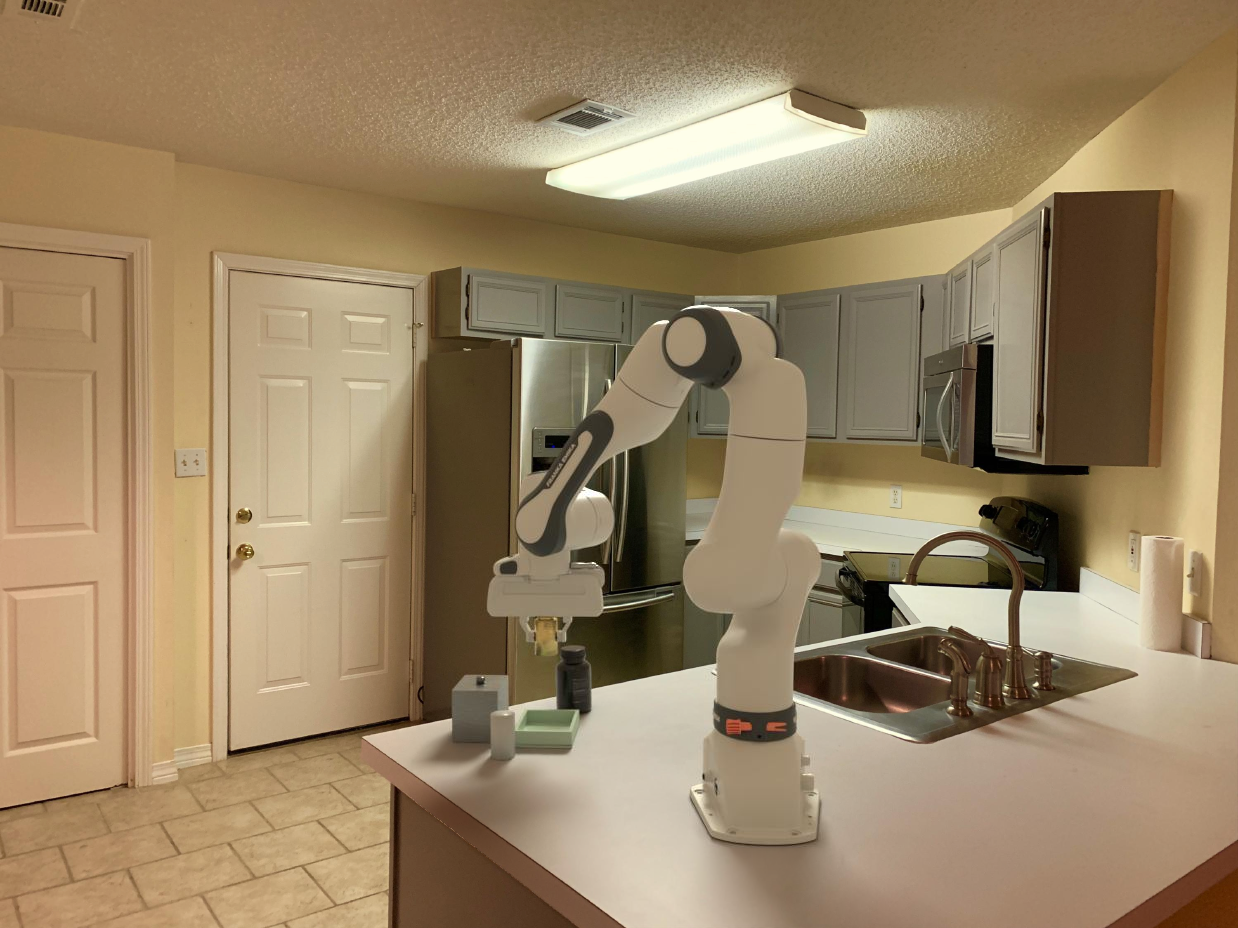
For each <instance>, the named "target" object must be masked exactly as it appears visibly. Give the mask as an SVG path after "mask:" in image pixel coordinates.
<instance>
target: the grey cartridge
mask: <svg viewBox="0 0 1238 928" xmlns="http://www.w3.org/2000/svg"><path fill="white" fill-rule="evenodd" d="M515 727H516V713H515V712H514V711H513V710H500V711H495V712H492V713H491V743H490V758H491V759H493V760H495V761H506V760H507V761H508V760H511V759H513V758H515V756H516V747H515Z"/></svg>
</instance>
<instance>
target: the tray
mask: <svg viewBox="0 0 1238 928" xmlns="http://www.w3.org/2000/svg"><path fill="white" fill-rule="evenodd" d="M579 727H580V714H579V710H557V708H555V709H550V708H549V709H548V708H546V709H544V708H542V709H541V708H539V709H538V708H535V709H534V708H524V709H523V712H522V713H521V715H520V717H519V719H518V721H517V723H516V724H515V748H534V749H536V748H537V749H542V748H543V749H545V748H546V749H573V746H574V744H575V743H574V742H575V739H576V736H577V733H578V731H579Z"/></svg>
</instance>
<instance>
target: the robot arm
mask: <svg viewBox="0 0 1238 928" xmlns="http://www.w3.org/2000/svg"><path fill="white" fill-rule="evenodd" d="M784 357H785V342H784V338H783V336H782V334H781V333H780V331H779V329H778V328H777V327H776V326H775V325H774V324H773V323H772V322H770V321H769V320H767V319H766V318H763V317H762V316H759V315H756V314H749V313H745V312H742V311H740V310H738V309H735V308H729V307H721V306H720V307H719V306H717V307H716V306H714V307H713V306H709V305H703V304H702V305H693V306H689V307H686V308H684V309H681V310H680V311H678V312H676V313H675V314H674V315H673V316H671V318H669V320H661V321H657V322H655V323H653V324H651V325H650V326H649V327H648V328H647V329H646V330H645V332H644V333H643V334H642V336H641V337H640V338H639V339H638V341H637V342H636V344H635V345H634V347H633V348H632V350H631V352H630V353H629V354H628V356H627V358H626V359H625V361H624V363H623V365H622V366H621V368H620V370H619V372H618V374H617V376H616V378H615V380H614V381H613V383H612V384H611V386H610V387H609V388H608V390H607V392H606V394H605V395H604V396H603V398H602V399H601V400H600V401H599V402H598V404H597V405H596V406H595V407H594V408H593V409H592V411H590V412H589V413H588V414H587V415H586V416H585V417H584V418H583V419H582V420H581V421H580V423H579V424H578V425H577V426H576V428H575V429H574V430H573V432H572V433H571V435H570V436H569V438H568V440H566V443H565V444H564V446H563V447H562V449H561V450H560V452H559V453H558V455H557V456H556V458H555V459H554V461H553V462H552V463H551V465H550V467H549V469H548V470H547V469H546V470H540V471H534V472H531V473H527V475H526V476H524V477H523V478H522V482H521V485H520V490H519V497H518V498H519V500H518V501H519V502H518V508H517V510H516V512H515V516H514V517H515V518H514V531H515V534H516V537H517V539H518V541H519V553H515V554H512V555H509V556H507V557H503V558H501V559H498V560H497V561H496V562H495V563H494V564H493V567H492V569H493V574H494V575H495V576H494V577H493V578H492V579H491V581H490V582H489V586H488V592H487V599H486V602H487V605H486V611H487V612H488V614H489V615H490V617H499V618H500V617H504V618H505V617H510V618H511V617H514V618H515V617H518V619H519V625H520V626H521V628H522V629H523V631H524V633H525V642H526V643H535V629H531V627H530V625H529V624H528V622H529V621H530V618H531V617H532V618H533V617H534V618H535V617H536V618H538V617H554V618H557V617H562V622H563V623H564V624H565V625H564V626H563V628H562V629H558V631H557V642H558V643H565V642H566V641H567V630H569V627H570V625H571V623H572V622H573V618H575V617H579V618H580V617H583V618H585V617H587V618H588V617H589V618H590V617H593V618H595V617H597V618H598V617H599V616H600V615H601V614H602V613H603V612H604V596H603V589H602V588H603V586H604V585H605V581H606V579H605V575H606V573H605V570H604V568H603V567H601V565H598V564H597V563H596V562H586V563H585V562H571V551H573V550H581V549H584V548H589V547H590V548H591V547H595V546H598V545H600V544H604V543H606V542H607V541H608V540H609V539H610V537H611V536H612V534H613V532H614V529H615V524H616V513H615V509H614V507H613V504H612V502H611V501H610V499H609V498H608V497H607V496H606V495H605V494H604V493H602V492H601V491H600V492H599V491H595V490H592V489H589V488H588V487H586V485H587V484H588V483H589V480H590V479H591V478H592V476H593V474H594V473H596V470H597V469H598V468H599V467H600V466H602V464H604V463H605V462H606V461H608V460H609V459H611V458H613V457H614V456H616V455H619V454H621V453H623V452H625V451H628V450H630V449H633V448H637V447H640V446H643V445H646V444H648V443H651V442H653V441H655V440H657V439H658V438H659V437H660V436H661V435H662V434H663V433H664V432H665V431H666V430H667V429H668V428H669V426H670V425H671V424H672V423H673V421H674V420H675V418H676V415H677V414H678V412H679V411H680V408H681V406H682V405H683V403H684V400H686V397H687V395H688V393H689V392H690V390H691V388H692V387H693V386H694V384H695V383H696V384H698V385H700V386H702V387H704V388H706V389H709V390H711V391H717V390H719V389H721V390H723V392H725V394H726V396H727V399H728V402H729V418H728V419H729V420H728V429H727V430H728V431H727V440H726V450H725V461H724V467H723V468H724V471H723V478H722V484H721V489H720V493H719V497H718V499H717V503H716V506H715V509H714V510H713V511H714V512H713V513H712V516H711V519H710V521H709V523H708V526H707V528H706V530H705V531H704V534H703V536H702V537H701V539H700V540H699V541H698V543H697V544H696V545H695V546H694V547H693V548H692V549H691V550H690V552H689V553H688V554H687V556H686V558H685V559H684V560H685V561H684V564H683V567H682V580H683V581H682V582H683V586H684V588H685V591H686V594H687V596H688V598H690V600H691V601H692V603H693V604H694V605H695V606H696V607H698V608H699V609H701V610H703V611H705V612H708V613H714V614H715V613H718V614H733V615H732V618H731V620H730V621H731V622H730V624H729V626H728V629H727V630H726V632H725V633H724V635H723V636H722V637H721V638H720V641H719V643H718V645H717V649H716V697H715V698H714V700H713V707H712V716H713V719H712V720H713V721H712V723H713V729H712V730H711V731H710V732H709V733H708V734H707V735H705V737H703V742H702V745H703V746H702V747H703V748H702V749H703V750H702V774H701V775H702V777H701V778H702V779H701V780H702V783H698V784H696V785H693V786H691V787H690V789H689V797H690V798H691V801H692V802H693V803H692V804H693V805H694V807H695V809H696V810H697V812H698V814H699V816H700V818H701V820H702V822H703V823H704V826H705V827H706V829H707V831H708V833H709V835H710V836H711V837H712V838H714V839H718V840H721V841H726V842H731V843H737V844H746V845H747V844H749V845H767V846H768V845H770V846H771V845H773V846H775V845H776V846H777V845H780V846H781V845H794V844H802V843H807V842H811V841H814V840H816V839H817V835H818V827H819V826H818V824H819V814H820V813H819V812H820V806H821V805H820V803H821V795H820V794H821V793H820V790H819V789H817V788H815V784H814V783H815V774H814V773H809V772H805V771H806V768H805V767H806V766H807V767H809V766H810V763H811V760H810V759H811V758H810V755H806V741H805V739H804V738H802V736H801V735H799V734H798V732H797V728H798V726H797V719H798V712H797V704H796V702H795V701H794V663H795V661H794V660H795V659H794V658H795V649H796V642H797V637H798V631H799V628H800V624H801V620H802V617H803V613H804V610H805V607H806V606H805V605H806V602H807V600H808V596H809V594H810V593H811V590H812V589H813V587H814V586H815V584H817V583H816V582H817V581H818V580H819V578H820V575H821V572H822V556H821V552H820V551H819V548H818V546H817V545H816V543H815V542H814V541H813V539H812V538H810V537H809V536H808V535H807V534H805V533H803V532H801V531H798V530H797V531H796V530H793V529H788V528H783V527H782V526H783V523H784V522H785V519H786V517H787V514H788V513H789V511H790V509H791V508H792V506H793V505H794V504H795V503H796V501H797V500H798V498H799V497H800V495H801V492H802V483H803V475H804V474H803V472H804V464H805V454H806V453H805V452H806V443H807V441H806V439H807V429H808V402H807V388H806V381H805V376H804V373H803V372H802V370H801V369H800V367H798V366H797V365H795V364H794V363H793V362H790V361H789V360H786V359H784Z"/></svg>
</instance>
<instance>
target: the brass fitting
mask: <svg viewBox="0 0 1238 928" xmlns="http://www.w3.org/2000/svg"><path fill="white" fill-rule="evenodd" d="M533 621H534V623H533V624H534V630H535V642H534V655H535V656H539V657H552V656H556V655H558V653H559V649H558V648H559V645H558V643H559V642H557V631H558V630H559V629H558V618H557V617H536V618H534V620H533Z"/></svg>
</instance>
